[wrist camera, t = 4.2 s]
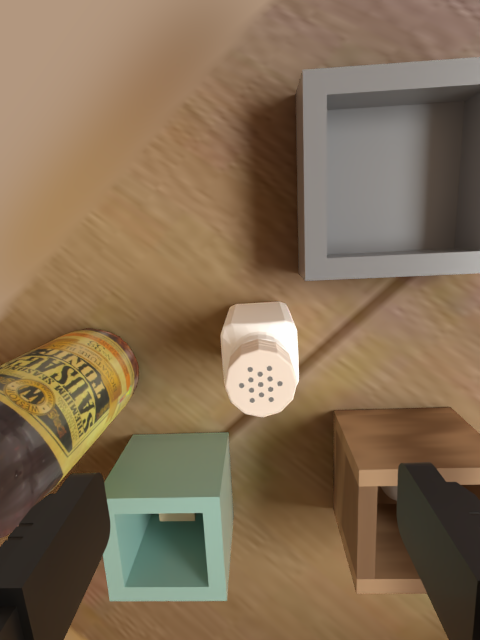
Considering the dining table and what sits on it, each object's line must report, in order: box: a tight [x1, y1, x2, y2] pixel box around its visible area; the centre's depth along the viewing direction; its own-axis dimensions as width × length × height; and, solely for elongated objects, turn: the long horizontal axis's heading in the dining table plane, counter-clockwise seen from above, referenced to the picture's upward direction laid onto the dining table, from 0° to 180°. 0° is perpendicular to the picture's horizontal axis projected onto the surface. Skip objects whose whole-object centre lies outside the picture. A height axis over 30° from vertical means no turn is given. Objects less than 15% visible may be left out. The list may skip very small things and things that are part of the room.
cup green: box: [103, 432, 234, 601], centre depth 26 cm, size 7×7×7 cm
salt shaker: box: [220, 302, 299, 417], centre depth 22 cm, size 4×4×10 cm
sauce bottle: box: [0, 328, 139, 538], centre depth 18 cm, size 7×6×20 cm
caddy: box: [296, 57, 480, 281], centre depth 22 cm, size 11×11×4 cm
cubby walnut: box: [333, 407, 480, 594], centre depth 25 cm, size 8×8×7 cm
